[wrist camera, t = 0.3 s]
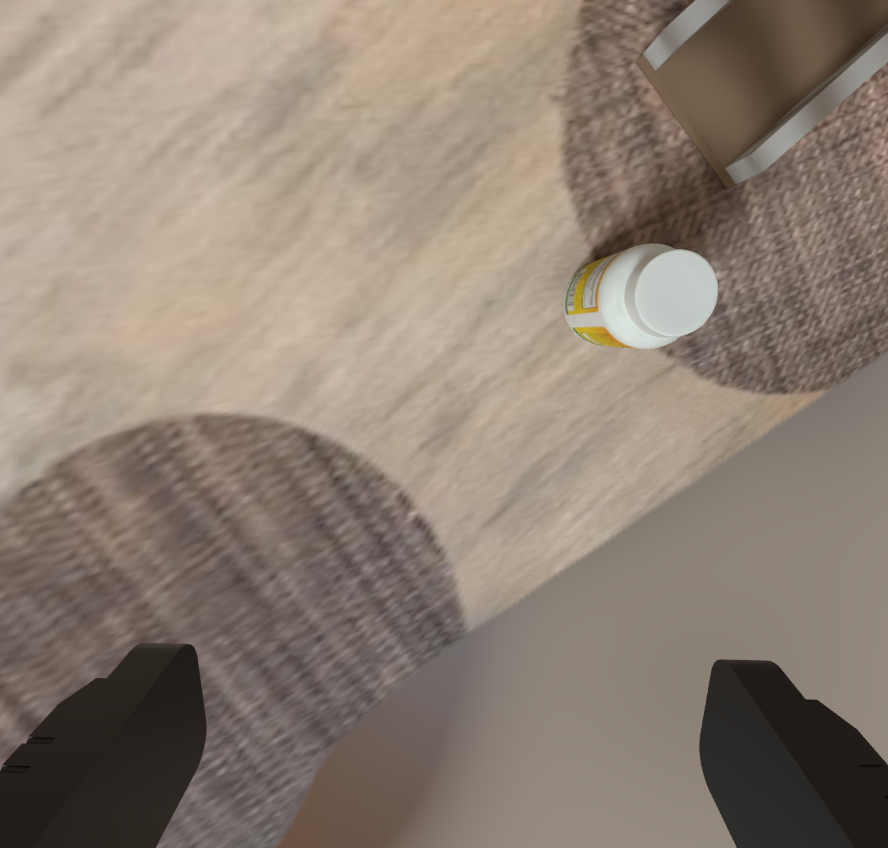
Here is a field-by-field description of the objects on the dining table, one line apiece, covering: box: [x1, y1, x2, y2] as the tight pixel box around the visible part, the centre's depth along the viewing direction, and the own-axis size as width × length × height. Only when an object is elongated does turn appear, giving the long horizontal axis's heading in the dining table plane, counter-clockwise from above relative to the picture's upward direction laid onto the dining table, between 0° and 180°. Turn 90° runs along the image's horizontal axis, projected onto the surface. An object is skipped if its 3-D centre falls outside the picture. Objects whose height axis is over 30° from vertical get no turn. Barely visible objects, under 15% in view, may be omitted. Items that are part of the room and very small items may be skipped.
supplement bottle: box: [564, 243, 718, 349], centre depth 30 cm, size 5×5×10 cm
